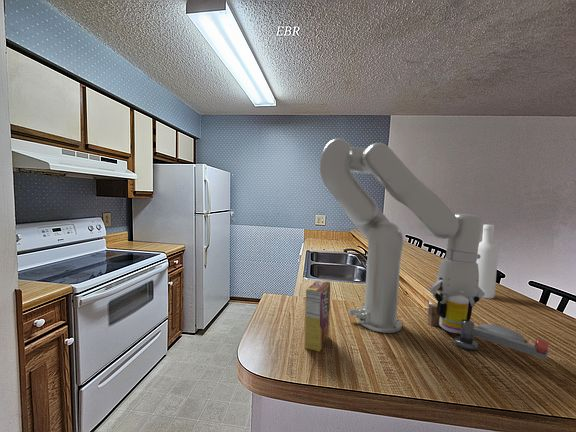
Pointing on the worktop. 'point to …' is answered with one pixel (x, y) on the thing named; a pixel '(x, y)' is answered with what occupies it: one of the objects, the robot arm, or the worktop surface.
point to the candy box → (317, 315)
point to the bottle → (487, 262)
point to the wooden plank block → (433, 315)
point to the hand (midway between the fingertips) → (453, 316)
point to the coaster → (502, 331)
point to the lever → (498, 340)
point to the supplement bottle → (455, 313)
